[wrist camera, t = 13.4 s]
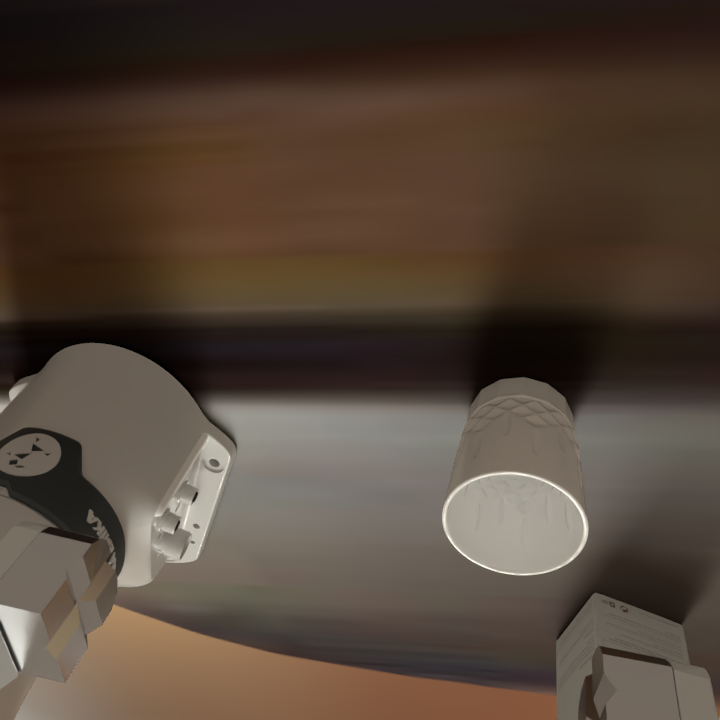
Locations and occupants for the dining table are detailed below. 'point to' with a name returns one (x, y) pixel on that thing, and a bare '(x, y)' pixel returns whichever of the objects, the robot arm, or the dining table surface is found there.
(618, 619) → the supplement box
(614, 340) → the dining table surface
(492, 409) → the white cup
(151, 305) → the dining table surface
